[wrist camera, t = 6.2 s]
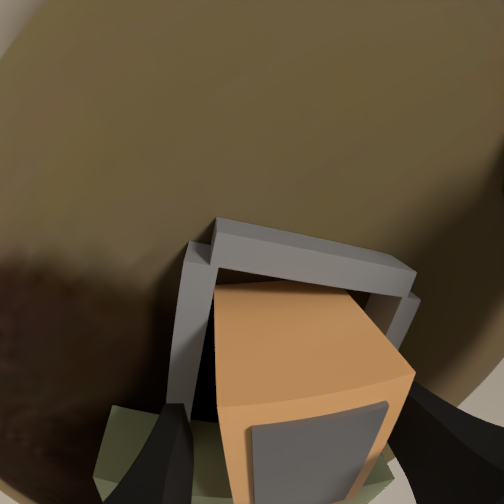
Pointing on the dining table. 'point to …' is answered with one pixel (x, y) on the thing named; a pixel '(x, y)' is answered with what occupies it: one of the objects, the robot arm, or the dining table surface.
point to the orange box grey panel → (302, 391)
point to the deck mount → (195, 323)
